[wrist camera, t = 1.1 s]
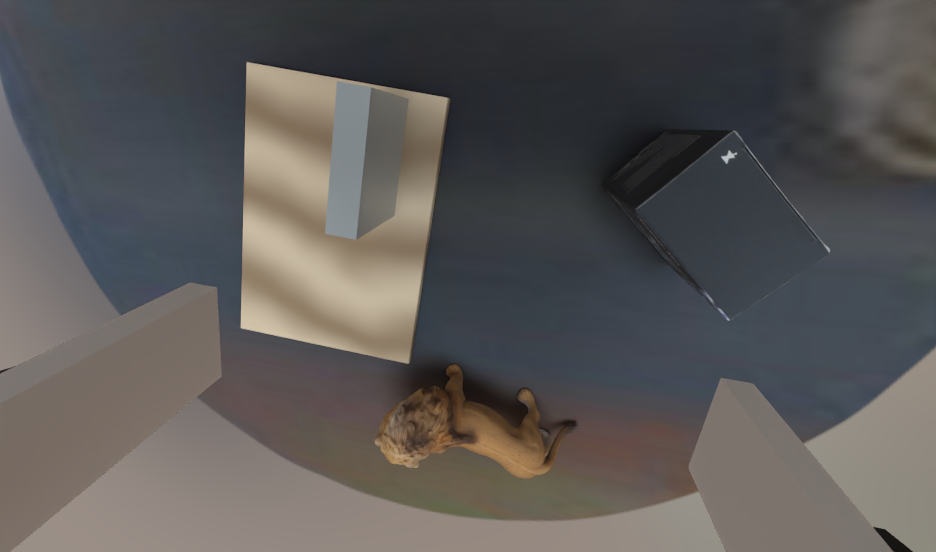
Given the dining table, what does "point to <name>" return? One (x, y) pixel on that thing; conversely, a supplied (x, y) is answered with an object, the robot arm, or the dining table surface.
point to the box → (715, 217)
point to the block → (364, 159)
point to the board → (304, 221)
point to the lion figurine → (466, 430)
